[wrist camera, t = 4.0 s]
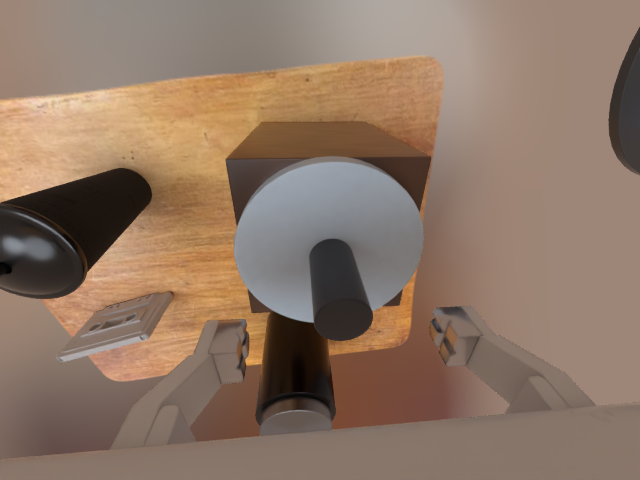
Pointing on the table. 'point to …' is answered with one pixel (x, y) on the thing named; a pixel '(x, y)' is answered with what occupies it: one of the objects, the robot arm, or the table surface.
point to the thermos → (294, 379)
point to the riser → (320, 141)
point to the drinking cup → (65, 231)
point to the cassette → (117, 326)
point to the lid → (329, 243)
